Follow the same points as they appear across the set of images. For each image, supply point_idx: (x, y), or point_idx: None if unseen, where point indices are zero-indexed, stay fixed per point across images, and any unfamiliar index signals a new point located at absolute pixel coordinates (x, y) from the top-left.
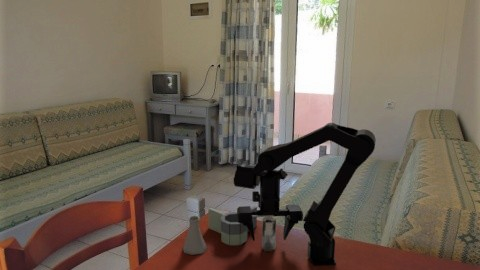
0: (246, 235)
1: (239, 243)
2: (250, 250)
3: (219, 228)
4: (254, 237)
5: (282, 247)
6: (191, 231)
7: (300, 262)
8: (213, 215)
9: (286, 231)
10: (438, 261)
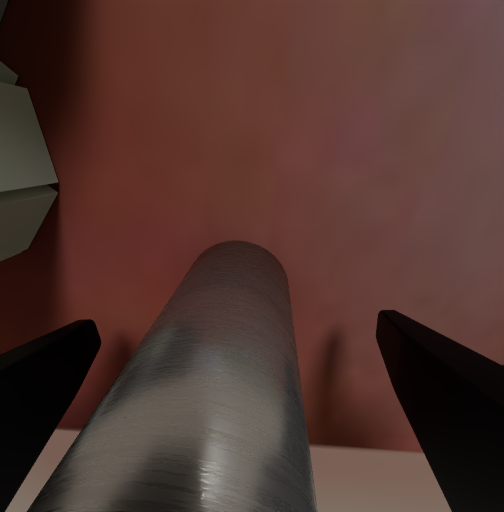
0: (7, 207)
1: (7, 258)
2: (113, 317)
3: None
4: (72, 397)
5: (343, 290)
6: None
7: (409, 432)
8: None
9: (453, 507)
10: None
